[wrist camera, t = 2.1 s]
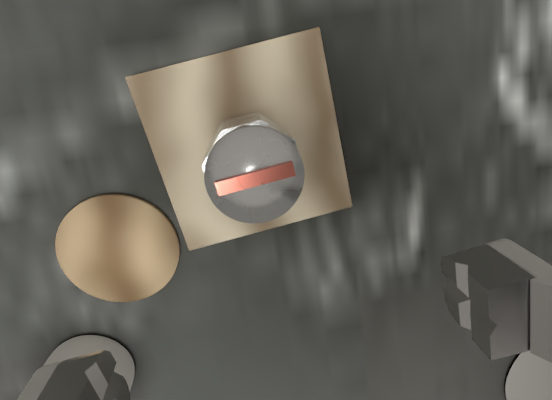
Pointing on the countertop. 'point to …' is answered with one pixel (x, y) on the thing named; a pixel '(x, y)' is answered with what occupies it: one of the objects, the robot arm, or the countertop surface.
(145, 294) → the coaster
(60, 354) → the pill bottle
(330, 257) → the countertop surface
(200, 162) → the post stand
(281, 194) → the cap
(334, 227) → the countertop surface
